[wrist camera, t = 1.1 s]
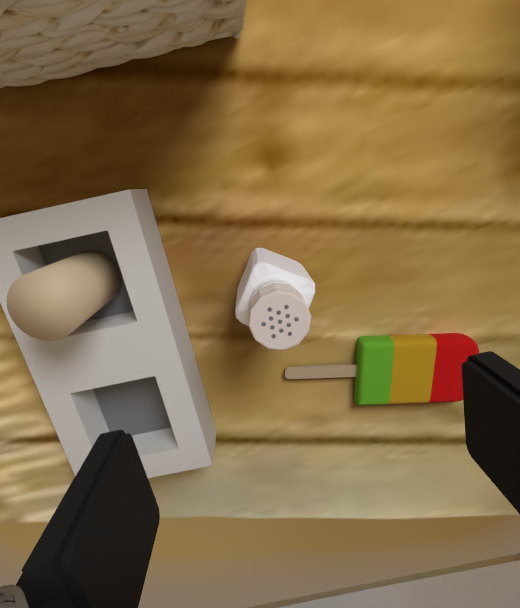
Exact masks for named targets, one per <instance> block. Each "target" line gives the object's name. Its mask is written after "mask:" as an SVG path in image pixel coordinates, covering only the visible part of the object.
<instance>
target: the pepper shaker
mask: <svg viewBox="0 0 520 608" xmlns="http://www.w3.org/2000/svg"><path fill="white" fill-rule="evenodd" d="M314 294H315V283H314V282H313V280H312V279H311V277H310V276H309V274H308V273H307V272H306V270H305V269H304V267H303V266H302V265H301V264H300V263H299V262H297V261H294V260H292V259H289V258H287V257H284V256H282V255H279V254H277V253H274V252H272V251H269V250H267V249H264V248H256V249H255V250H254V251H253V252H252V253H251V255H250V258H249V260H248V263H247V265H246V268H245V271H244V273H243V276H242V278H241V281H240V283H239V286H238V289H237V299H236V309H235V314H236V318H237V319H238V320H239V321H240V322H241V323H242V324H245V325H247V326H249V328H250V330H251V332H252V334H253V337H254V339H255V340H256V341H258V342H259V343H260V344H262V345H263V346H265V347H266V348H268V349H278V350H285V349H288V348H290V347H293V346H295V345H298V344H299V343H300V342H301V341H302V339H303V338H304V337H305V336H306V335H307V333H308V332H309V327H310V321H311V315H310V312H309V310H308V309H309V306H310V304H311V301H312V299H313V296H314Z"/></svg>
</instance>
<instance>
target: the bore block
mask: <svg viewBox="0 0 520 608" xmlns="http://www.w3.org/2000/svg"><path fill="white" fill-rule="evenodd" d="M0 303H1V305H2V308H3V310H4V312H5V315H6V317H7V319H8V322H9V324H10V326H11V329H12V331H13V333H14V336H15V338H16V340H17V342H18V345H19V347H20V349H21V352H22V354H23V356H24V359H25V361H26V363H27V366H28V368H29V370H30V372H31V375H32V377H33V379H34V382H35V384H36V386H37V389H38V391H39V393H40V396H41V398H42V400H43V403H44V405H45V407H46V409H47V412H48V414H49V416H50V419H51V421H52V423H53V426H54V428H55V430H56V433H57V435H58V437H59V439H60V442H61V444H62V446H63V449H64V451H65V453H66V456H67V458H68V460H69V463H70V465H71V467H72V470H73V472H74V474H75V476H76V475H77V473H78V471H79V469H80V468H81V466H82V464H83V462H84V461H85V459H86V457H87V455H88V454H89V452H90V450H91V449H92V447H93V445H94V443H95V442H96V440H97V438H98V436H99V435H100V434H102V433H107V432H111V431H116V430H123V431H124V432H125V433H126V434H127V433H130V434H131V435H132V437H133V440H134V442H135V445H136V448H137V451H138V453H139V456H140V459H141V461H142V464H143V467H144V470H145V472H146V475H147V478H152V477H157V476H162V475H167V474H172V473H177V472H182V471H187V470H192V469H198V468H203V467H208V466H212V464H213V456H214V448H215V440H216V429H215V426H214V422H213V419H212V415H211V412H210V408H209V405H208V401H207V398H206V394H205V391H204V387H203V384H202V380H201V377H200V373H199V370H198V366H197V363H196V359H195V356H194V352H193V349H192V345H191V342H190V338H189V335H188V331H187V328H186V324H185V321H184V317H183V314H182V310H181V307H180V303H179V300H178V296H177V293H176V289H175V286H174V282H173V279H172V276H171V272H170V269H169V265H168V262H167V258H166V255H165V251H164V248H163V244H162V241H161V237H160V234H159V230H158V227H157V223H156V220H155V216H154V213H153V209H152V206H151V202H150V199H149V195H148V192H147V189H129V190H124V191H120V192H115V193H111V194H106V195H102V196H97V197H93V198H88V199H84V200H79V201H75V202H70V203H66V204H61V205H57V206H52V207H48V208H43V209H39V210H34V211H30V212H26V213H21V214H17V215H12V216H8V217H3V218H0Z"/></svg>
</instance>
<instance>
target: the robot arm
mask: <svg viewBox="0 0 520 608" xmlns="http://www.w3.org/2000/svg"><path fill="white" fill-rule="evenodd" d="M462 383H463V400H464V416H465V433H466V445H467V449H468V451H469V453H470V455H471V457H472V458H473V459H474V461H475V462H476V463H477V464H478V465H479V466H480V468H481V469H482V470H483V471H484V472H485V474H486V475H487V476H488V477H489V478H490V479H491V481H492V482H493V483H494V484H495V485H496V487H497V488H498V489H499V490H500V491H501V492H502V494H503V495H504V496H505V497H506V498H507V500H508V501H509V502H510V503H511V504H512V505H513V507H514V508H515V509H516V510H517V511H518V513H519V514H520V370H519V369H518V368H516V367H515V366H513V365H512V364H510V363H509V362H507V361H506V360H504V359H503V358H501V357H500V356H498V355H497V354H495V353H494V352H491V351H490V352H484V353H480V354H475V355H470V356H468V358H467V362H464V363H462ZM159 518H160V515H159V508H158V505H157V502H156V499H155V497H154V494H153V491H152V489H151V486H150V483H149V480H148V478H147V475H146V472H145V470H144V467H143V464H142V461H141V459H140V456H139V453H138V451H137V448H136V445H135V442H134V440H133V437H132V435H131V434H130V433H127V434H126V433H125V432H124V431H123V430H116V431H111V432H107V433H102V434H100V435H99V436H98V438H97V440H96V442H95V443H94V445H93V447H92V449H91V450H90V452H89V454H88V455H87V457H86V459H85V461H84V462H83V464H82V466H81V468H80V469H79V471H78V473H77V475H76V476H75V478H74V480H73V482H72V483H71V485H70V487H69V488H68V490H67V492H66V494H65V495H64V497H63V499H62V501H61V502H60V504H59V506H58V508H57V509H56V511H55V513H54V515H53V516H52V518H51V520H50V521H49V524H48V525H47V527H46V528H45V530H44V532H43V534H42V536H41V537H40V539H39V541H38V543H37V544H36V546H35V548H34V549H33V551H32V553H31V555H30V556H29V558H28V560H27V562H26V563H25V565H24V567H23V569H22V572H23V573H22V575H21V577H20V579H19V580H18V582H17V584H16V586H15V585H6V586H1V587H0V608H138V605H139V601H140V597H141V593H142V589H143V585H144V581H145V577H146V572H147V569H148V564H149V560H150V557H151V552H152V549H153V545H154V541H155V537H156V533H157V528H158V524H159ZM248 608H520V554H515V555H509V556H504V557H499V558H494V559H489V560H483V561H478V562H473V563H468V564H463V565H458V566H453V567H447V568H442V569H437V570H432V571H427V572H422V573H416V574H411V575H406V576H401V577H396V578H392V579H386V580H381V581H376V582H372V583H366V584H361V585H356V586H351V587H346V588H342V589H336V590H332V591H326V592H321V593H317V594H311V595H307V596H302V597H297V598H292V599H287V600H282V601H277V602H272V603H267V604H262V605H257V606H253V607H248Z"/></svg>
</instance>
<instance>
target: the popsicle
mask: <svg viewBox="0 0 520 608" xmlns="http://www.w3.org/2000/svg"><path fill="white" fill-rule="evenodd" d="M475 354H479V349H478V346H477V344H476V343H475V342H474V341H473V340H472V339H471V338H470V337H468V336H466V335H463V334H459V333H446V334H416V335H387V336H362V337H359V338H358V339H357V349H356V364H350V365H322V366H294V367H287V368H286V369H285V377H286V378H287V379H309V378H336V377H355V386H354V400H355V402H356V404H357V405H375V404H402V403H428V402H454V401H461V400H463V383H462V363H464V362H467V358H468V356H470V355H475ZM390 391H391V392H390Z"/></svg>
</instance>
